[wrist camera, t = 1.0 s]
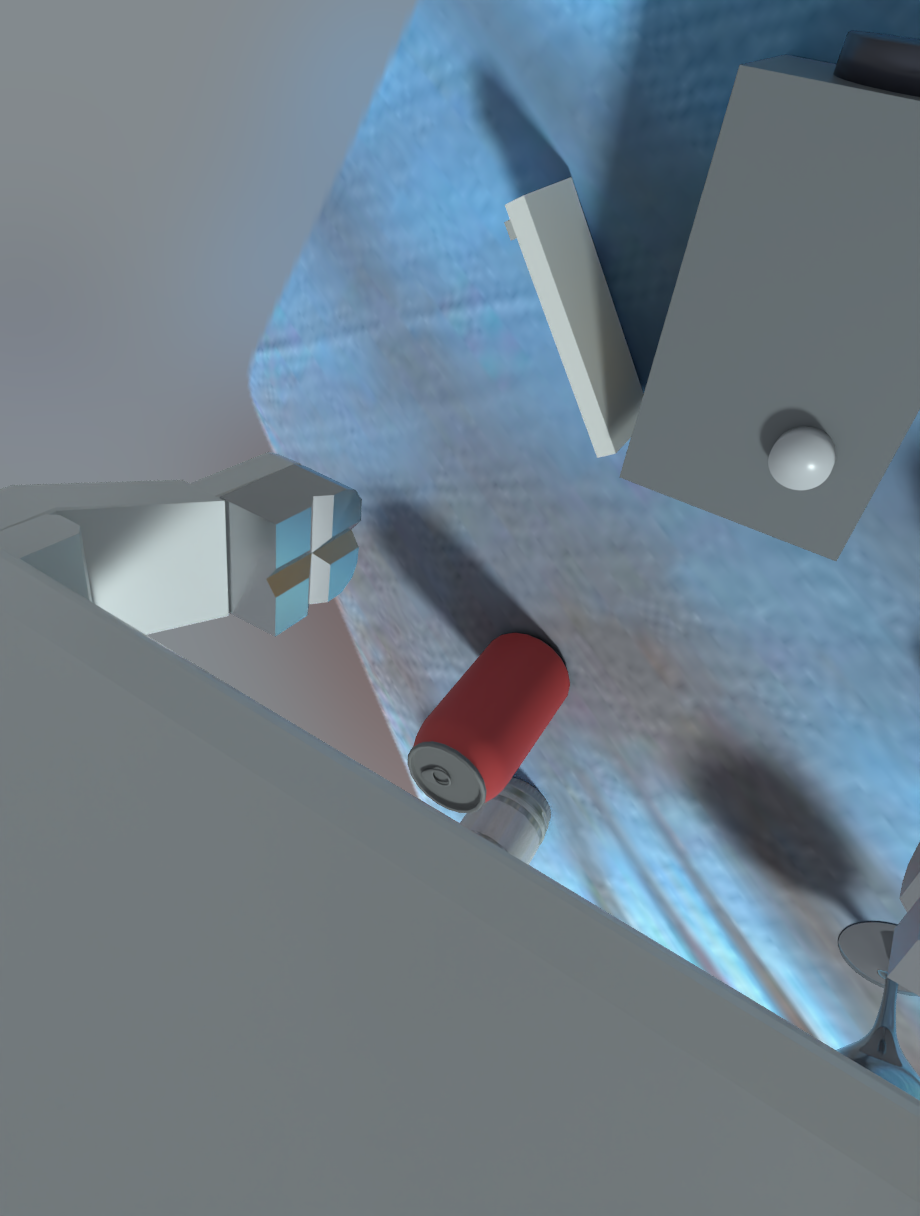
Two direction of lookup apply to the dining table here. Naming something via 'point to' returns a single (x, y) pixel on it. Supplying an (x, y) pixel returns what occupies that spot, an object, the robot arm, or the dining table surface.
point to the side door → (578, 311)
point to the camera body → (795, 301)
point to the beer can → (488, 722)
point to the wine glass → (880, 1047)
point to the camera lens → (513, 819)
